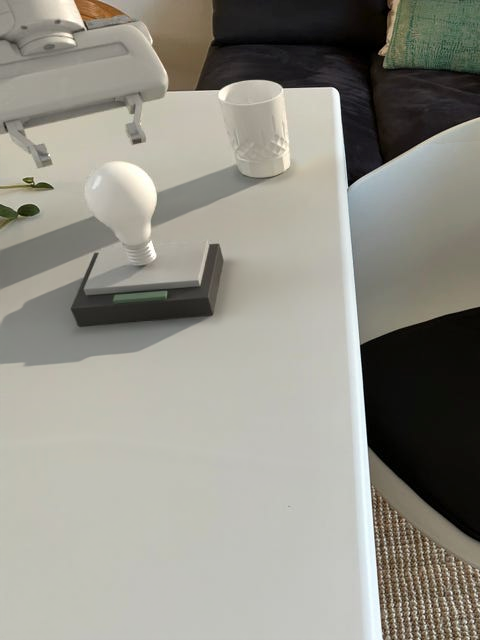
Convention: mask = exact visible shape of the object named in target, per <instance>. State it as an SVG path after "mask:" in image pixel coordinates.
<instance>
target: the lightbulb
mask: <svg viewBox="0 0 480 640" xmlns="http://www.w3.org/2000/svg"><path fill="white" fill-rule="evenodd" d="M83 194H84V195H83V197H84V201H85V204H86V206H87V208H88V210H89V212H91V214H92V216H94V217H95V218H96V220H98V221H99V222H100V223H101V224H103V225H105V226H106V227H108V229H110V230H112V232H113V233H114V235H115V237H116V239H118V241H119V242H121V243H122V246H124V249H125V250H126V254H127V257H128V260H129V262H130V263H131V264H133V265H139V266H144V265H147V264H149V263H151V262H152V261H153V260H154V259H155V258H156V253H155V250H154V247H153V244H154V243H153V240H152V237H151V235H152V234H151V233H152V223H151V221H152V218H153V215H154V213H155V210H156V207H157V203H158V193H157V188H156V185H155V182H154V181H153V179H152V177H151V176H150V175H149V174H148V173H147V172H146V171H145V170H144V169H143V168H141V167H140V166H138V165H136V164H134V163H132V162H128V161H124V160H123V161H122V160H113V161H106V162H103V163H101V164H99V165H98V166H97V167H95V168H94V169H93V170H92V171H91V172H90V173H89V175H87V178H86V180H85V183H84V187H83Z"/></svg>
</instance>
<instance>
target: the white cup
mask: <svg viewBox="0 0 480 640" xmlns="http://www.w3.org/2000/svg"><path fill="white" fill-rule="evenodd" d="M216 97H217V100H218V104H219V107H220V111H221V114H222V118H223V122H224V125H225V129H226V132H227V136H228V139H229V143H230V147H231V149H232V151H233V153H234V158H235V162H236V166H237V169H238V171H239V172H240V174H242V175H243V176H247V177H250V178H257V179H259V178H260V179H261V178H262V179H264V178H271V177H275V176H278V175H280V174H282V173H285V172H286V171H287V170H288V169H289V168H290V167H291V155H290V147H289V146H290V140H289V139H290V138H289V129H288V119H287V111H286V103H285V96H284V89H283V86H282V85H281V84H279V83H277V82H274V81H272V80H265V79H250V80H249V79H248V80H242V81H238V82H233V83H231V84H228V85H225V86H224V87H222V88H221V89H220V90H218V92H217V96H216Z"/></svg>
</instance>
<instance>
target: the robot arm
mask: <svg viewBox="0 0 480 640" xmlns="http://www.w3.org/2000/svg"><path fill="white" fill-rule="evenodd" d="M168 88H169V76H168V73H167V70H166V69H165V66H164V65H163V63H162V61H161V59H160V58H159V56H158V54H157V52H156V51H155V48H154V41H153V38H152V36H151V33H150V30H149V28H148V27H147V26H146V24H145V23H144V22H143V21H141V20H139V19H137V18H134V17H128V15H126V14H119V15H114V16H113V17H107V18H96V19H91V20H89V19H88V20H83V18H82V16H81V14H80V11H79V9H78V7H77V5H76V3H75V0H0V136H2V135H5V134H8V135H9V138H10V139H11V141H12V143H13V144H15V145H16V146H18V147H19V148H20V149H21V150H23V151H24V152H26V153H27V154H28V155H31V158H32V160H33V162H34V165H35V167H36V168H37V169H43V168H45V167H50V166H53V161H52V158H51V156H50V153H49V152H48V149H47V146H46V144H45V143H39V144H35V143H34V142H33V141H31V139H28V137H27V134H26V131H25V130H27V129H32V128H36V127H40V126H45V125H50V124H54V123H59V122H64V121H69V120H71V119H78V118H82V117H85V116H90V115H95V114H98V113H104V112H108V111H112V110H116V109H122V108H125V107H126V109H127V111H128V113H129V115H133V120H132V122H129V123H125V133H126V136H127V138H128V139H129V143H130V144H131V146H135V145H140V144H144V143H146V142H147V136H146V133H145V131H144V128H143V125H142V119H143V114H144V103H147V102H152V101H158V100H161V99H164V98H165V96H166V94H167V91H168Z"/></svg>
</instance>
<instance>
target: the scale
mask: <svg viewBox="0 0 480 640" xmlns="http://www.w3.org/2000/svg"><path fill="white" fill-rule="evenodd" d="M152 244H153V247H154V250H155V253H156V258H155V259H154V260H153V261H152V262H151V263H149V264H147V265H144V266H139V265H133V264H131V263H130V262H129V260H128V257H127V254H126V250H125V249H124V246H123V245H121V246H120V245H118V246H106V247H100V250H98V251H99V252H94V253H93V255H92V257H91V259H90V260H91V261H90V262H89V264H88V267H87V269H86V272H85V274H84V275H83V278H82V281H81V283H80V286H79V288H78V290H77V293H76V295H75V298H74V299H73V302H72V304H71V307H70V311H71V313H72V315H73V318H74V320H75V322H76V325H77V326H78V327H86V326H96V325H97V326H98V325H108V324H120V323H121V324H122V323H132V322H134V323H135V322H145V321H158V320H168V319H169V320H170V319H180V318H181V319H182V318H192V317H204V316H213V315H214V311H215V306H216V302H217V297H218V292H219V291H218V290H219V286H220V281H221V275H222V270H223V265H224V257H223V254H222V247H221V245H220V243H209V240H208V239H202V240H187V241H186V240H185V241H173V242H160V243H152Z"/></svg>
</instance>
